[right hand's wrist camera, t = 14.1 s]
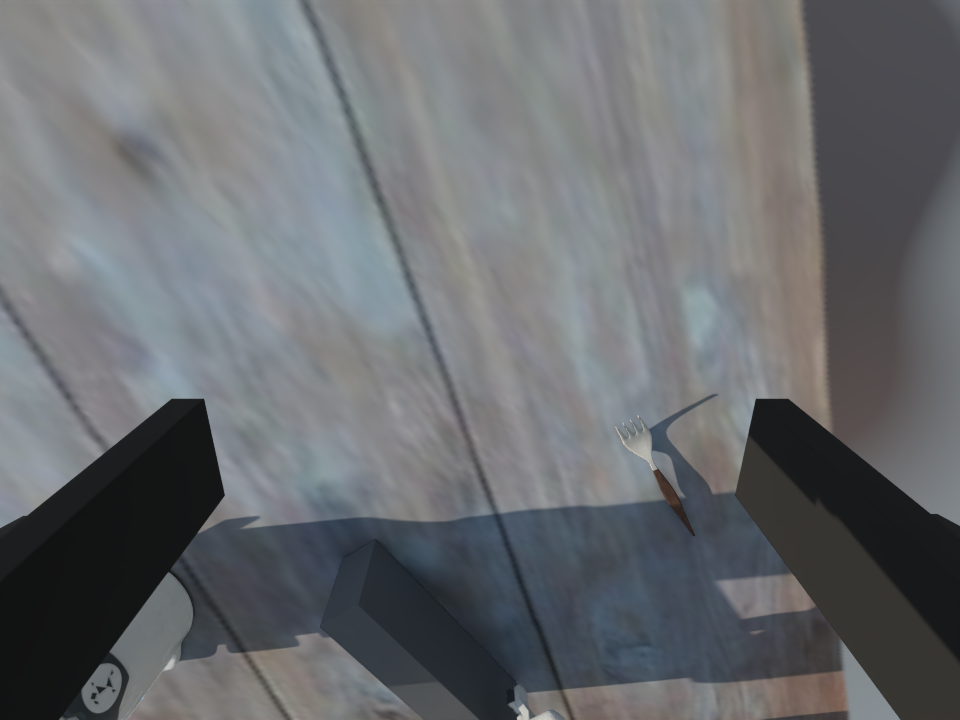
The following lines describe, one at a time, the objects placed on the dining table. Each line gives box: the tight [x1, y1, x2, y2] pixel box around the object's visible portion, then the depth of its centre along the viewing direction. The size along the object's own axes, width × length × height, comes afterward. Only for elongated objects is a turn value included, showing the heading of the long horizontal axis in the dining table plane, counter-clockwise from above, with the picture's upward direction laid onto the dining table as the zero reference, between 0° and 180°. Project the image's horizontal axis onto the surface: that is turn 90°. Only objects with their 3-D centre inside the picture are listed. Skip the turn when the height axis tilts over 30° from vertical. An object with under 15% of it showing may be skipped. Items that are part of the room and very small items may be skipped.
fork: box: [616, 415, 695, 536], centre depth 49 cm, size 3×16×2 cm, turn 32°
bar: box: [320, 539, 519, 720], centre depth 53 cm, size 25×4×8 cm, turn 36°
